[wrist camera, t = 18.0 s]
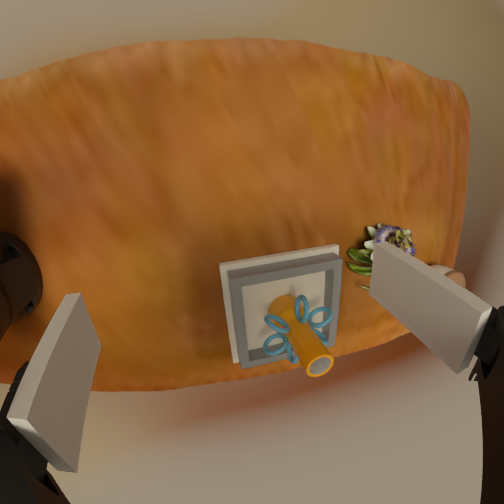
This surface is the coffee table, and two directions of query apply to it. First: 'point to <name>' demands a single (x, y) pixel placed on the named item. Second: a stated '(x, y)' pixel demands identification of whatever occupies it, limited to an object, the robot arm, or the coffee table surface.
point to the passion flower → (378, 235)
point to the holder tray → (271, 287)
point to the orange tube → (299, 333)
